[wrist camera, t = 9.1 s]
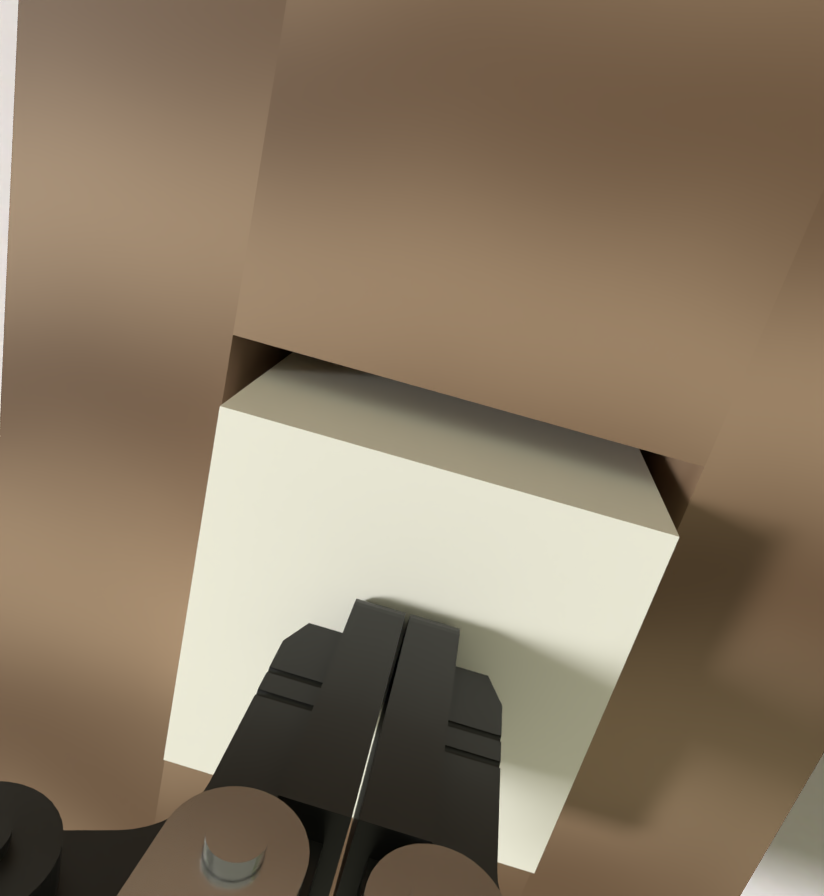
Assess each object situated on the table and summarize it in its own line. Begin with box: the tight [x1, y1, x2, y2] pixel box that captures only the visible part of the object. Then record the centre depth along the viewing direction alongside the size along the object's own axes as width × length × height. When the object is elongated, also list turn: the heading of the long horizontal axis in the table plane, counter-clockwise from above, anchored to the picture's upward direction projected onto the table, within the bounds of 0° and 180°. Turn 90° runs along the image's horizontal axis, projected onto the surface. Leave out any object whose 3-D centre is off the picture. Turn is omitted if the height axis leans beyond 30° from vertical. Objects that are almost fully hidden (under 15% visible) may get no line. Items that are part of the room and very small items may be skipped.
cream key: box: [163, 352, 679, 873], centre depth 12 cm, size 6×6×4 cm
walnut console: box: [0, 0, 824, 896], centre depth 12 cm, size 32×14×6 cm, turn 165°
